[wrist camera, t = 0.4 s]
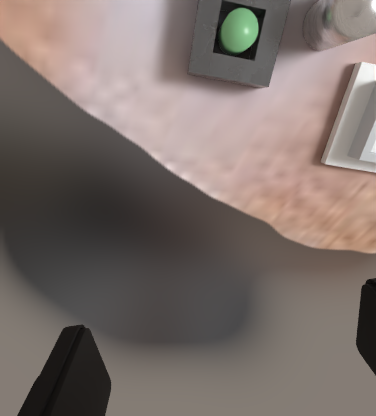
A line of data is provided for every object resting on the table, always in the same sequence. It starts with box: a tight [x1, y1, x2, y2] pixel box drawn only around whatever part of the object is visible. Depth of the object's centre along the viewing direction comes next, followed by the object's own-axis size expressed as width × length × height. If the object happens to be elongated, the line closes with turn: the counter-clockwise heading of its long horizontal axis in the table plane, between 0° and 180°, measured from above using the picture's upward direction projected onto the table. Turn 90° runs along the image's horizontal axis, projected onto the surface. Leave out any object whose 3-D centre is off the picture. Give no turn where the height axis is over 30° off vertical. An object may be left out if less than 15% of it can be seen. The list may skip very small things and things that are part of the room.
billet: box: [303, 0, 376, 51], centre depth 26 cm, size 5×5×8 cm
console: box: [188, 0, 291, 88], centre depth 29 cm, size 9×9×3 cm
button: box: [218, 8, 258, 56], centre depth 28 cm, size 4×4×4 cm
